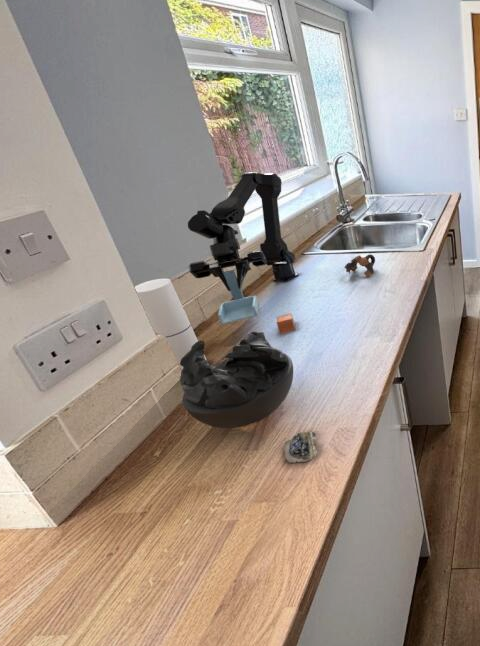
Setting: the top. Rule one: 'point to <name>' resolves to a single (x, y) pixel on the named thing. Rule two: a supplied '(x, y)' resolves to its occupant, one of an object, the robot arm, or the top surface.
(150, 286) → the cylindrical container
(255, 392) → the bowl of black rocks
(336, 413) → the top surface
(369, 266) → the toy animal figurine
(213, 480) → the top surface
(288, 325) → the block
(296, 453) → the geode slice
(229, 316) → the pale blue channel tray
